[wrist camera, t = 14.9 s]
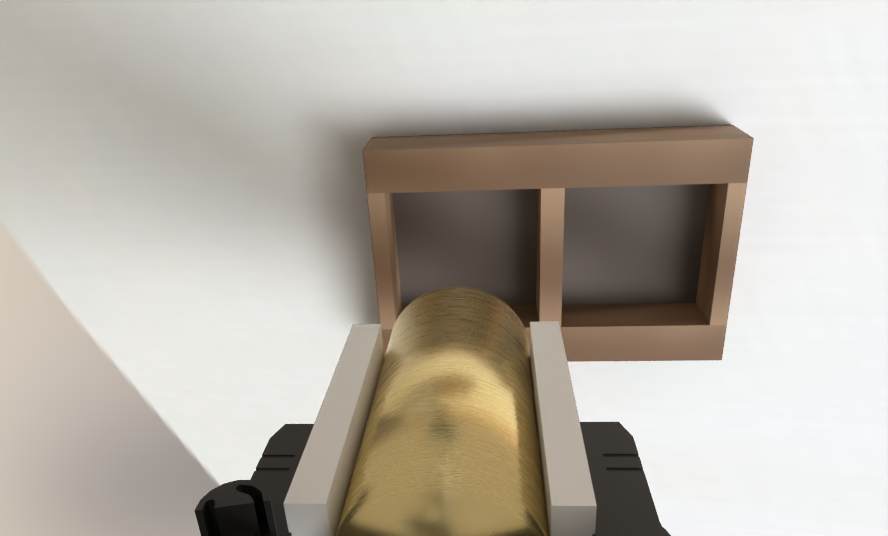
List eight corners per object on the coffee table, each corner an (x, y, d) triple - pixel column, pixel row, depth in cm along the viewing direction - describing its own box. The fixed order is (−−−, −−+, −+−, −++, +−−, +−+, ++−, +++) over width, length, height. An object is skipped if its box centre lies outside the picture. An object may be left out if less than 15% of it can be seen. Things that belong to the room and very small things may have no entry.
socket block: (372, 137, 24) (362, 150, 22) (732, 124, 23) (753, 137, 21) (390, 336, 28) (384, 363, 26) (705, 333, 27) (721, 360, 25)
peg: (383, 288, 18) (314, 493, 11) (528, 284, 18) (556, 492, 11) (395, 408, 20) (342, 656, 13) (529, 406, 20) (554, 660, 12)
